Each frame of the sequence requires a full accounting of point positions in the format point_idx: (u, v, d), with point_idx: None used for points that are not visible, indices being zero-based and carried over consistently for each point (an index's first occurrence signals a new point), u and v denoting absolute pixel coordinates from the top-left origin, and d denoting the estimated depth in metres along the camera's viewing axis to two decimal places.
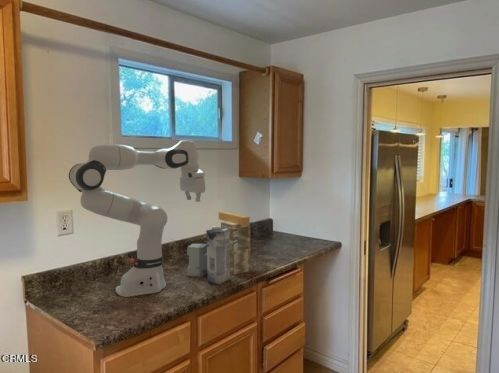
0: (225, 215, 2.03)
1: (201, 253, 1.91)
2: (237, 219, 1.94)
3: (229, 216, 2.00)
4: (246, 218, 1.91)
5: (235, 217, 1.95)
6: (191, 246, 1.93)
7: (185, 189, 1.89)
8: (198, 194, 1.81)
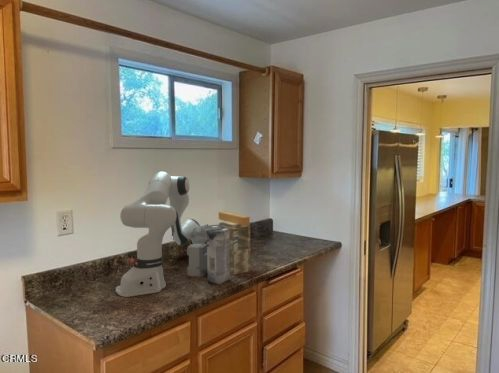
0: (225, 215, 2.03)
1: (201, 253, 1.91)
2: (237, 219, 1.94)
3: (229, 216, 2.00)
4: (246, 218, 1.91)
5: (235, 217, 1.95)
6: (191, 246, 1.93)
7: None
8: None
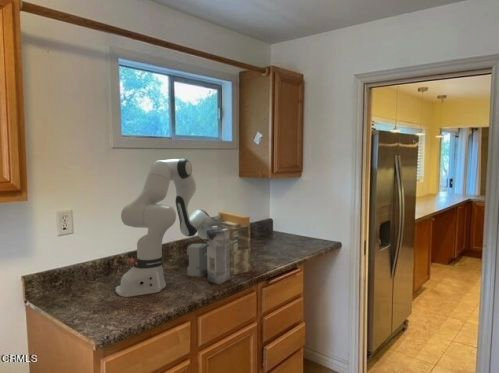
0: (225, 215, 2.03)
1: (201, 253, 1.91)
2: (237, 219, 1.94)
3: (229, 216, 2.00)
4: (246, 218, 1.91)
5: (235, 217, 1.95)
6: (191, 246, 1.93)
7: None
8: None
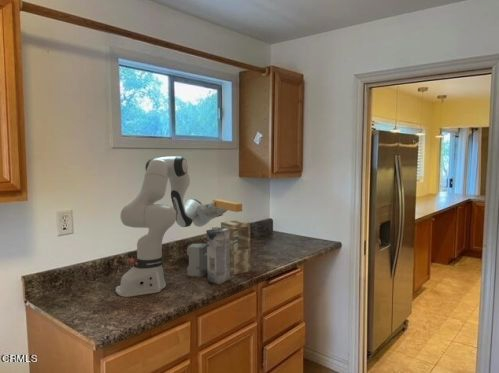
0: (219, 202, 2.08)
1: (201, 253, 1.91)
2: (230, 206, 1.99)
3: (222, 203, 2.05)
4: (239, 205, 1.96)
5: (228, 204, 2.00)
6: (191, 246, 1.93)
7: None
8: None
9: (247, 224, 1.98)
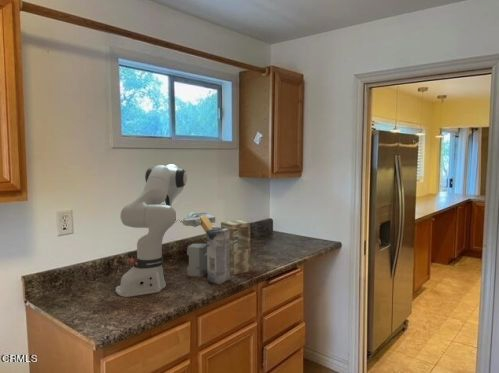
0: (205, 225, 2.18)
1: (201, 253, 1.91)
2: None
3: None
4: None
5: None
6: (191, 246, 1.93)
7: (194, 218, 2.24)
8: None
9: (247, 224, 1.98)
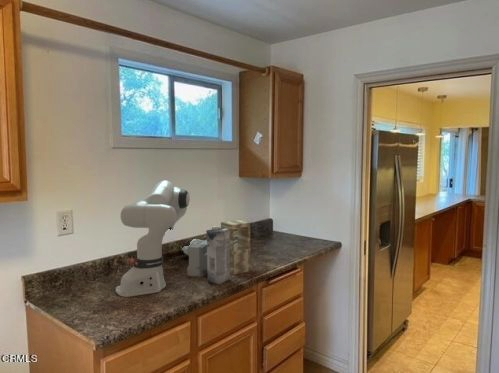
0: None
1: (201, 253, 1.91)
2: None
3: None
4: None
5: None
6: (191, 246, 1.93)
7: None
8: None
9: (247, 224, 1.98)
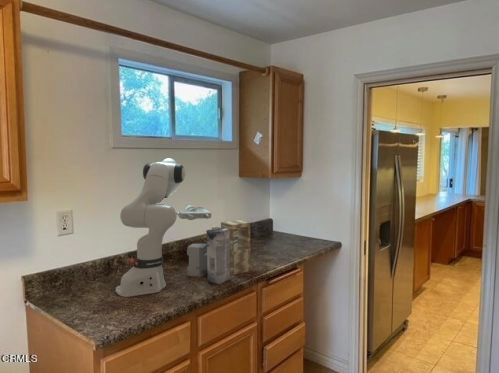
0: None
1: (201, 253, 1.91)
2: None
3: None
4: None
5: None
6: (191, 246, 1.93)
7: (190, 212, 2.24)
8: None
9: (247, 224, 1.98)
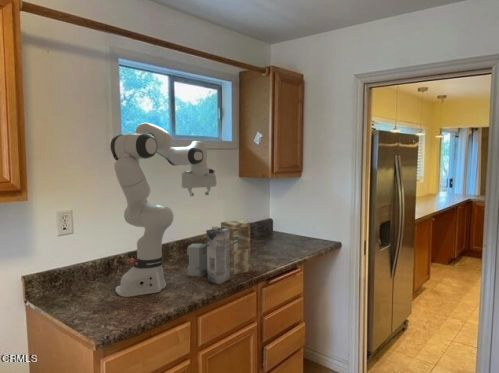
0: None
1: (201, 253, 1.91)
2: None
3: None
4: None
5: None
6: (191, 246, 1.93)
7: (194, 186, 2.05)
8: None
9: (247, 224, 1.98)
